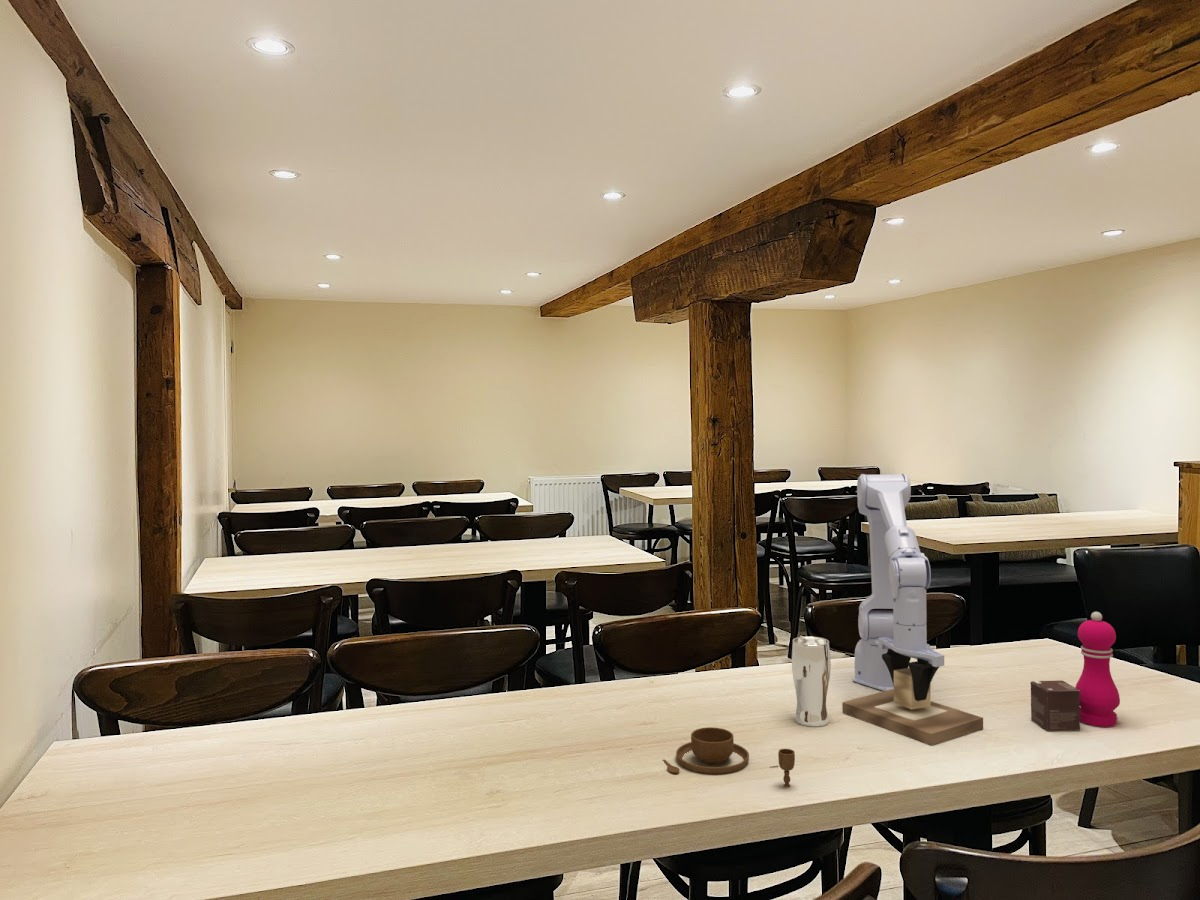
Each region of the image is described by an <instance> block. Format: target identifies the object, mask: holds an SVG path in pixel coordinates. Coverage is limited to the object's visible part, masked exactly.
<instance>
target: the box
mask: <svg viewBox="0 0 1200 900" xmlns="http://www.w3.org/2000/svg"><path fill="white" fill-rule="evenodd" d="M1075 687H1076V686H1073V685H1071V684H1069V683H1068V682H1066V681H1064V680H1033V681H1032V680H1031V681H1030V711H1031V712H1030V714H1031V716H1030V720H1031V721H1032V722H1033V723H1035V724H1037V725H1038V726H1040V728H1043V730H1046V731H1048V732H1064V731H1065V732H1067V731H1068V732H1069V731H1072V732H1073V731H1076V732H1077V731H1081V722H1080V690H1078V689H1076V688H1075Z"/></svg>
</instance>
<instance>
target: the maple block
mask: <svg viewBox="0 0 1200 900" xmlns="http://www.w3.org/2000/svg"><path fill="white" fill-rule="evenodd" d="M931 684H932V682H931V683H930V687H929V690H928V694H927V698H926V700H921V701H916V700H915V697H914V688H913V679H912V674H911V671H910V668H909V667H908V668H905V669H898V670H894V703H897V704H899V705H901V706H904V707H906V708H909V709H911V710H912V709H917V708H923V707H929V706H930V701H931Z"/></svg>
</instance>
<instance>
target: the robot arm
mask: <svg viewBox="0 0 1200 900" xmlns="http://www.w3.org/2000/svg"><path fill="white" fill-rule="evenodd" d="M911 485H912V484H911V481H910V478H909V475H907V474H906V473H899V474H895V473H894V474H890V473H889V474H864V473H861V474H860V476H858V477H857V483H856V494H857V497H856V498H857V509H858V512H859V514H861V515H864V516H865V517H866V518H867V523H868V530H869V531H868V532H869V550H870V551H869V552H870V553H869V554H870V573H871V574H870V575H871V576H870V577H871V594H870V595H868V596H867V597H866V598H865V599H864V600H863V601H861V602H860V604H859V606H858V619H857V622H858V623H857V626H858V633H859V637H860V638H861V639H859V640H858V641H857V643H856V645H855V649H854V678H852V679H851V680H852V682H855V683H858V684H860V685H864V686H867V687H870V688H874V689H876V690H879V691H881V692H883V691H887V690H891V689H894V670H898V669H905V668H910V671H911V674H912V679H913V688H914V697H915V700H916V701H921V700H926V698H927V694H928V690H929V687H930V683H931V684H932V681H933V679H934V676H935V675H936V673H937V672H938V670H939V668H940V667H944V666H945V655H944V654H942V653H939V652H937V651H936V650H934V649H933V648H930V646H931V645H930V644H929V643H927V641H928V640H927V639H928V638H927V635H928V634H927V633H928V632H927V589H929V588H930V585H931V578H932V577H931V575H932V573H931V564H930V561H929V558H928V557H927V556H925V553H924V552H921V549H920V546H919V543H918V539H917V536H916V533H915V530H914V529H912V528H911V527H910V526H908V525H907V523H908V522H907V517H906V512H905V509H906V508H907V506H908V503H909V501H910V500H911V496H912V495H911V494H912V493H911V491H912V486H911ZM874 609H880V610H874ZM881 609H882V610H881ZM883 609H884V610H883ZM885 609H886V610H885ZM887 609H891V610H887ZM911 659H915V660H916V661H911ZM930 688H931V687H930Z"/></svg>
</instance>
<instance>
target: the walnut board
mask: <svg viewBox="0 0 1200 900" xmlns="http://www.w3.org/2000/svg"><path fill="white" fill-rule="evenodd" d="M841 708H842V709H841V710H842V711H841V712H843V714H845V713H846V714H845V715H847V714H848V715H847V716H850V715H851V717H852V718H853V717H854V718H856V719H859V720H860V721H861V720H862V721H865V722H867V723H870V724H872V725H875V726H877V727H880V728H883V729H885V730H889V731H891V732H894V733H896V734H899V735H902V736H905V737H908V738H910V739H913V740H915V741H918V742H921V743H924V744H927V745H929V746H935V745H938V744H941V743H945V742H948V741H950V740H953V739H957V738H959V737H963V736H965V735H968V734H973V733H975V732H978V731H982V730H984V717H982V716H978V715H975V714H972V713H970V712H966V711H963V710H959V709H956V708H954V707H950V706H947V705H945V704H940V703H939V702H934V701H931V700H930V706H929V707H923V708H917V709H912V710H911V709H909V708H906V707H904V706H901V705H899V704H897V703H894V689H891V690H887V691H879V692H877V693H872V694H869V695H864V696H861V697H857V698H852V699H850V700H845V701H843V702H842V706H841Z"/></svg>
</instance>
